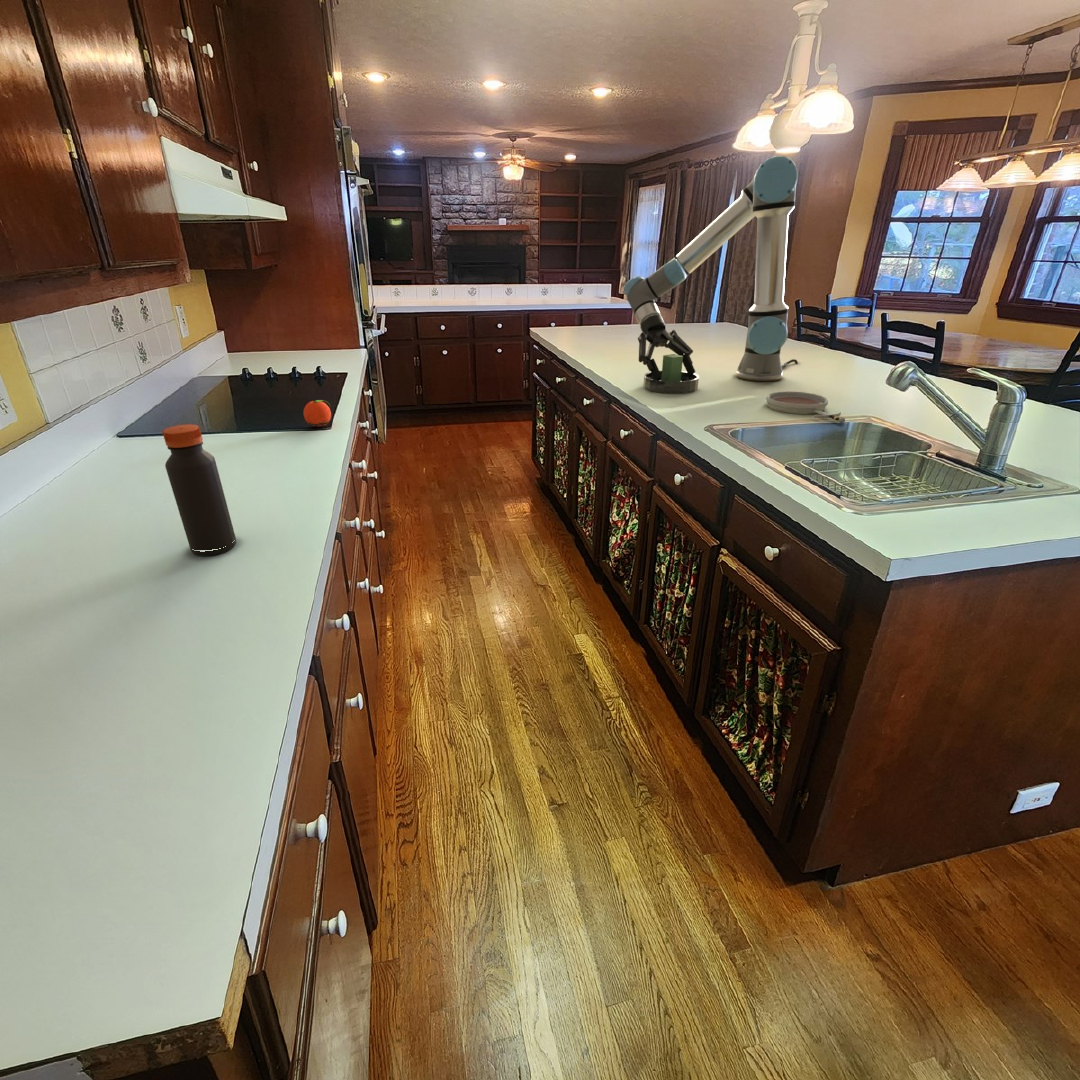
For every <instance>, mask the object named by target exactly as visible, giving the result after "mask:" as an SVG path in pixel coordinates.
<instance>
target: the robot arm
mask: <svg viewBox="0 0 1080 1080" xmlns="http://www.w3.org/2000/svg"><path fill="white" fill-rule="evenodd" d="M798 181H799V170H798V167H797V165H796V163H795V162H794V161H793V160H792V158H790V157H788V156H785V155H775V156H771V157H769V158H767V159H765V160H764V161H762V162H761V163H760V165H759V166H758V167H757V168H756V170H755V173H754V175H753V179H752V180H751V181H750V182H749V183H748V184H747V186H746V187H744V188H743V189H742V190H741V193H740V196H739V197H738V198H737V199H736V200H735V201H734V202H733V203H732V204H731V205H730V206H728V207H727V208H726V209H725V210H724V211H723V212H722V213H721V214H720V215H718V216H717V218H716V219H714V220H713V221H712V222H711V223H710V224H709V225H707V227H705V229H703V230H702V231H701V232H700V233H699V234H698V235H697V236H696V237H694V239H693V240H691V241H690V242H689V243H688V244H687V245H686V246H685V247H684V248H683V249H681V251H679V253H677V254H676V255H675V256H674V257H673V258H671V260H669V261H668V262H667V261H666V263H665V264H663V266H661V267H659V268H658V269H657V270H655V271H654V272H652V273H651V274H650V275H648V276H647V277H645V278H644V277H643V276H641V275H640V276H639V275H637V276H635V277H632V278H630V279H629V280H627V282H626V283H625V285H624V287H623V288H624V289H623V290H624V294H625V296H626V301H627V302H628V304H629V306H630V308H631V310H632V312H633V314H634V317H635V319H636V321H637V323H638V325H639V327H640V331H641V333H640V334H639V335H638V336H637V341H638V344H639V345H638V362H639V363H642V365H644V366H646V368H647V370H648V371H649V372H651V373H652V375H653V377H654V379H655V380H659V378H660V377H661V374H660V371H661V370H659V367H658V365H657V363H656V360H655V359H654V358H652V356H653V353H654V351H655V348H660V347H661V348H663V347H664V348H666V349H669V350H670V351H672V352H673V353H674V354H676V355H680V356H683V362H682V365H683V366H684V369H685V370H686V371H685V372H687V373H688V375H689V377H691V376H692V375H693V374H696V369H695V368H694V367H695V366H694V365H693V360H692V358H691V355H692V354H693V353H694V350H693V349H692V348H691V347H690V346H689V344H687V342H685V341H684V340H683V339H682V338H681V337H680V336H679V334H678V333H677V331H676V330H675V329H672V330H671V331H669V332H668V331H667V329H666V323H665V321H664V318H663V316H662V313H661V312H660V310H659V307H658V305H657V303H656V300H658V299H660V298H661V297H662V296H664V295H665V294H667V293H668V292H670V291H671V290H673V289H675V288H676V287H678V286H679V285H681V283H682V282H684V281H685V280H686V279H687V277H688V276H689V275H690V274H691V273H693V272H694V271H695V270H696V269H697V268H698V267H699V266H700V265H702V264H703V263H704V262H705V261H707V259H708V258H709V257H711V256H712V255H713V254H714V253H715V252H717V251H718V250H719V249H720V248H721V247H722V246H723V245H724V244H726V243H727V242H728V241H729V240H730V239H731V238H733V236H734V235H736V234H737V233H738V232H739V231H740V230H741V229H742V228H744V227H745V226H746V224H748V223H749V222H750V221H751V220H753V219H754V218H755V217H756V219H757V223H756V247H755V269H754V270H755V271H754V295H753V297H754V298H753V305H752V306H751V307H750V308H749V309H748V318H747V319H748V320H747V332H746V339H745V347H744V353H743V356H742V358H741V360H740V362H739V364H738V366H737V369H736V372H735V377H736V378H738V379H741V380H745V381H750V382H751V381H752V382H775V381H780V380H781V379H782V377H783V369H784V368H786V367H787V365H789V364H792V363H794V364H799V362H798V359H793V358H792V359H789V360H787V361H786V362H784V363H783V365H782V359H781V350H782V348H783V346H784V345H785V343H786V342H787V340H788V336H789V330H788V317H789V316H788V315H789V306H788V305H787V304H786V303H785V302H784V296H785V281H786V280H785V279H786V266H787V265H786V263H787V249H788V231H789V217H790V216H789V215H790V214H791V213H792V212H793V210H794V209H795V206H796V192H797V184H798ZM647 342H648V343H649V344H648V349H647Z"/></svg>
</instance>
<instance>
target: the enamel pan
mask: <svg viewBox="0 0 1080 1080" xmlns="http://www.w3.org/2000/svg"><path fill="white" fill-rule="evenodd" d="M659 371H660V374H661V377H662V370H659ZM661 377H660V378H659V380H655V379H654V377H653V375H652V373H651V371H649V372H646V373H644V375H643V385H642V386H643V387H642V388H643V389H645V390H647V391H649V392H653V393H656V394H657V393H658V394H671V395H677V394H679V395H680V394H688V393H689V394H690V393H693V392H696V391H697V390H698V389H699V388H698V387H699V379H700V376H699V375H698V374H697V373H694V374H693V375H692V376H691V377H689V375H688V373H687V371H683V370H682V372H681V381H661Z"/></svg>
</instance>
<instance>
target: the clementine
mask: <svg viewBox="0 0 1080 1080" xmlns="http://www.w3.org/2000/svg"><path fill="white" fill-rule="evenodd" d="M325 402H326V403H327V404H328V405H329V406H331V404H330V403H329V402H328V401H327V400H323V399H317V400H316V399H314V400H312V401H309V402H308V403H307V404H306V405H305V406H304V408H303V418H304V420H305V422H306V423H307V424H309V423H311V424H319V423H327V422H328V423H330V421H331V418H332V412H331V408H330V407H329V406H328V405H327V404H326V403H325ZM328 423H327V424H328ZM327 424H324V425H317V426H315V425H311V426H312V427H315V428H323V427H325V426H326V425H327Z"/></svg>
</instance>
